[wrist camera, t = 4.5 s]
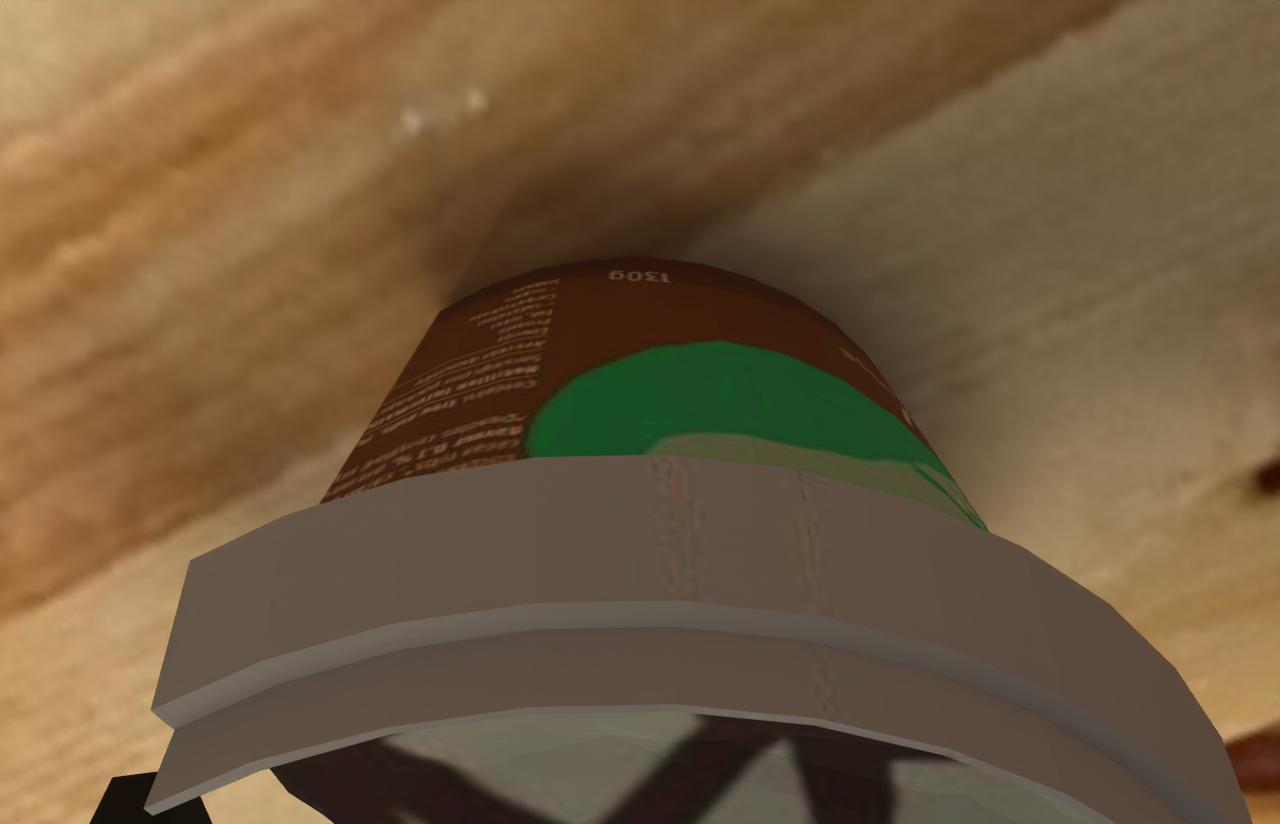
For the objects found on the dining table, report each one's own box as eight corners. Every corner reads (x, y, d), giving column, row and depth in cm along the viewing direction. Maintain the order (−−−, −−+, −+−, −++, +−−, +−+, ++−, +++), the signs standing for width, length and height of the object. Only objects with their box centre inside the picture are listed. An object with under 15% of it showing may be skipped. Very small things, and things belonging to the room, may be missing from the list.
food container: (1112, 631, 19) (1538, 1318, 11) (794, 778, 21) (933, 1494, 12) (766, -23, 14) (1020, 239, 6) (375, 227, 16) (79, 757, 7)
